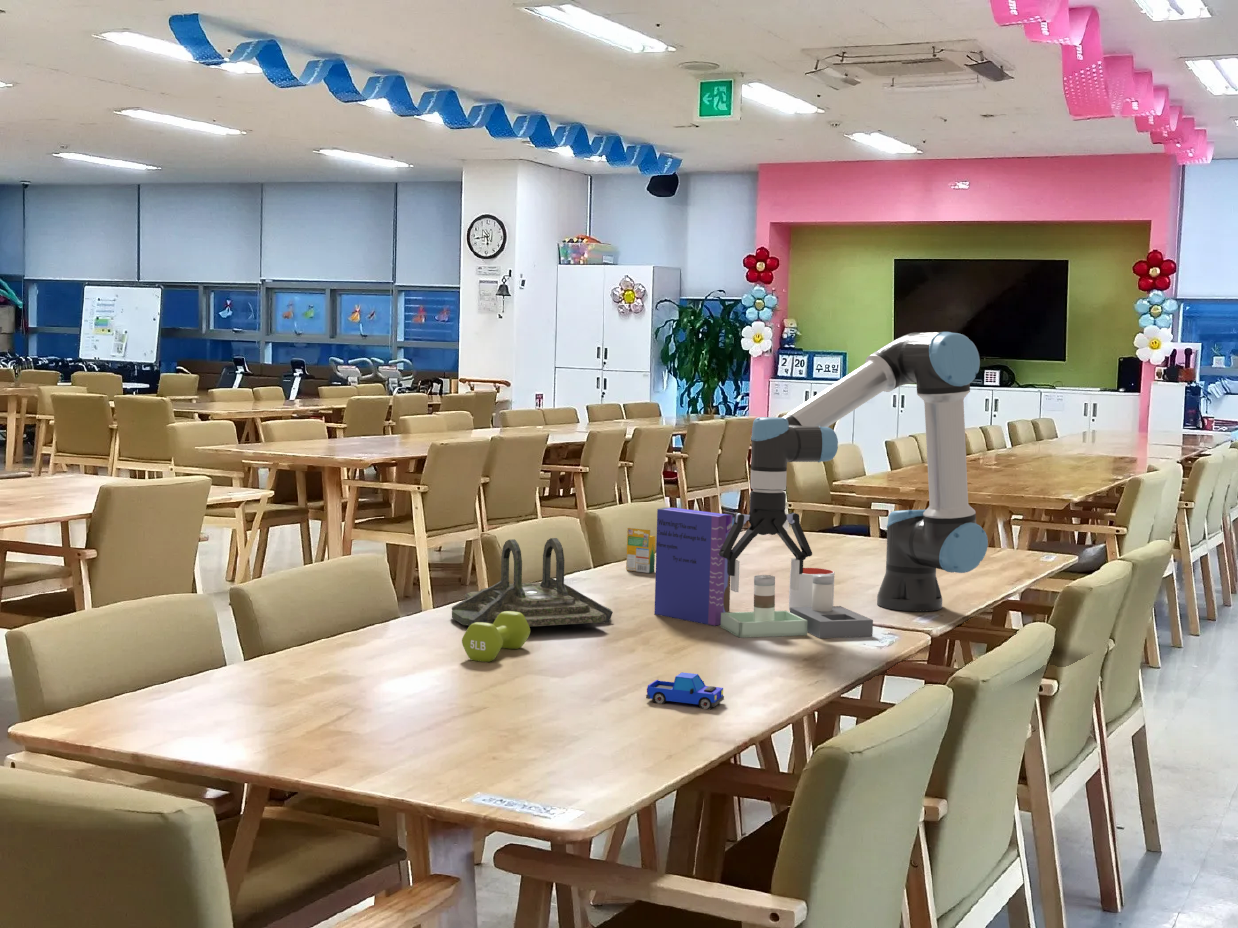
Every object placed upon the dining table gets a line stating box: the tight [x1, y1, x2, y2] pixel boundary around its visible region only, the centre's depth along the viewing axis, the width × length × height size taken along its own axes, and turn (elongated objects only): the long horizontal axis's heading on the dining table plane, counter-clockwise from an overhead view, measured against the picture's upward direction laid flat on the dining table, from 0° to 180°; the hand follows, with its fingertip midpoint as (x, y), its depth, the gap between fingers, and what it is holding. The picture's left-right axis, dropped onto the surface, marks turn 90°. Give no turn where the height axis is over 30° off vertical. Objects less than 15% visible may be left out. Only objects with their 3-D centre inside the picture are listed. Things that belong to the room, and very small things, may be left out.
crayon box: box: [625, 527, 656, 574], centre depth 368 cm, size 7×3×12 cm, turn 58°
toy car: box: [645, 672, 725, 710], centre depth 231 cm, size 7×12×5 cm, turn 69°
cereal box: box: [654, 506, 733, 627], centre depth 303 cm, size 17×5×24 cm, turn 47°
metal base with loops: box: [451, 537, 613, 627], centre depth 298 cm, size 35×34×18 cm
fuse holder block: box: [789, 574, 874, 639], centre depth 296 cm, size 12×16×11 cm
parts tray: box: [720, 610, 808, 638], centre depth 293 cm, size 15×11×3 cm
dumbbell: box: [461, 611, 531, 663], centre depth 265 cm, size 16×8×7 cm, turn 159°
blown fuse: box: [753, 574, 776, 622], centre depth 292 cm, size 4×4×11 cm
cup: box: [788, 567, 835, 611], centre depth 313 cm, size 10×10×10 cm
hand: (764, 590), depth 292 cm, fingers open, 13 cm apart
